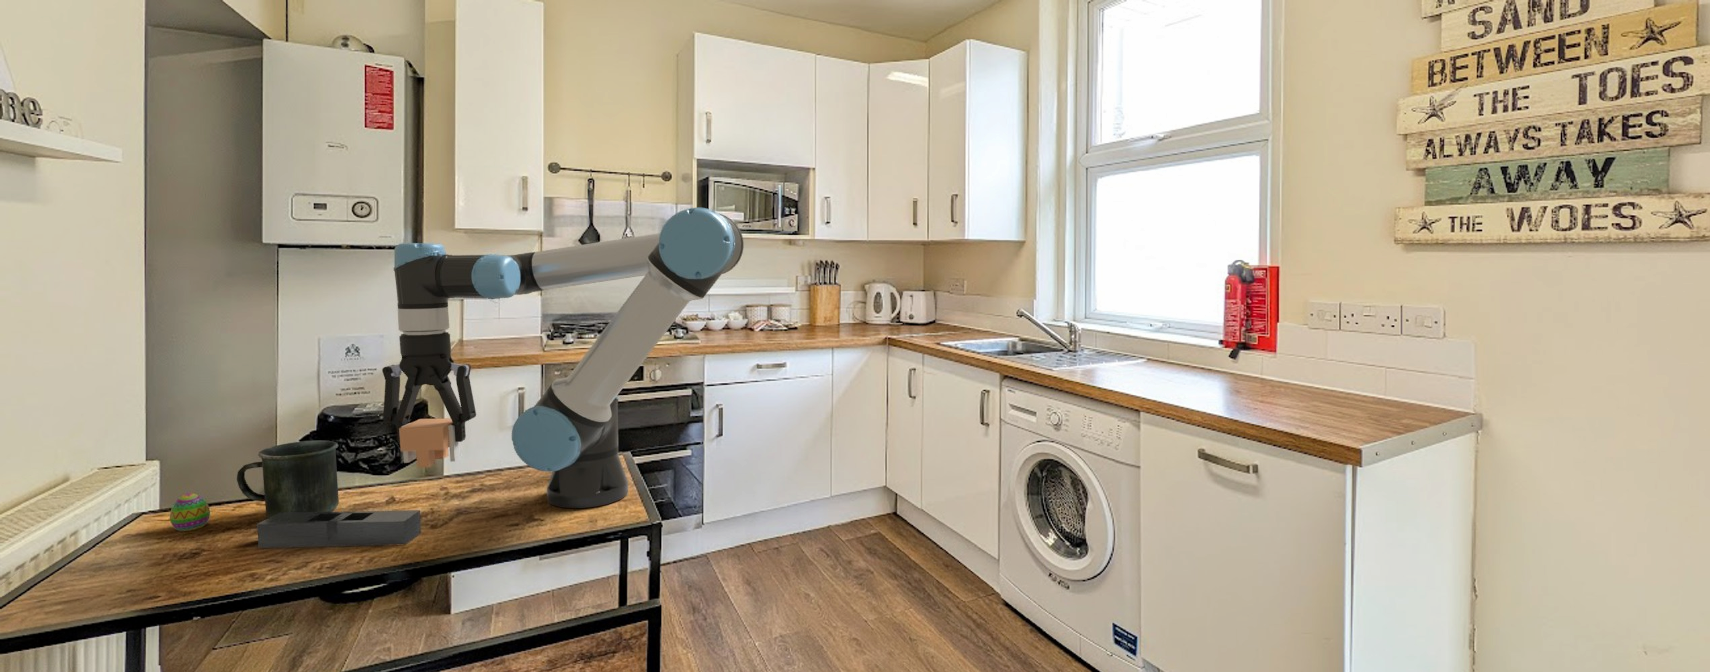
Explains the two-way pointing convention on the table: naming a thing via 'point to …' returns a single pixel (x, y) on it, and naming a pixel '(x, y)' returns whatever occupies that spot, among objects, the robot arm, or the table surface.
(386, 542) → the rail
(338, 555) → the table surface
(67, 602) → the table surface
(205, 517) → the egg
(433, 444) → the tan block with tab
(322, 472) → the mug
